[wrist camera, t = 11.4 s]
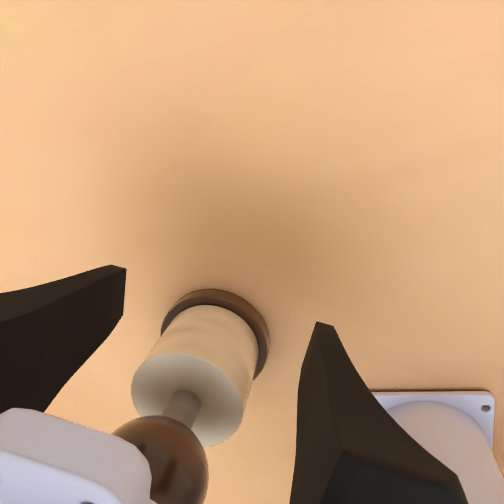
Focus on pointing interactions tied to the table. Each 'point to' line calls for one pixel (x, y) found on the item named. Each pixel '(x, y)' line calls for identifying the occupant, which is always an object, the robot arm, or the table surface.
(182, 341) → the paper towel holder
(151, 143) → the table surface
